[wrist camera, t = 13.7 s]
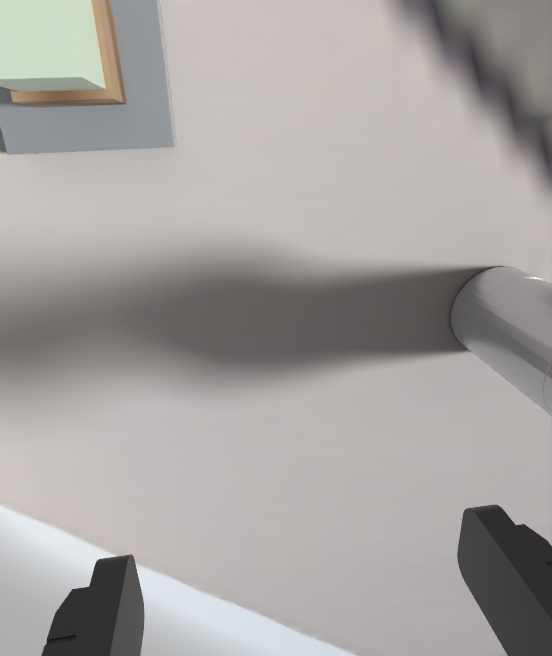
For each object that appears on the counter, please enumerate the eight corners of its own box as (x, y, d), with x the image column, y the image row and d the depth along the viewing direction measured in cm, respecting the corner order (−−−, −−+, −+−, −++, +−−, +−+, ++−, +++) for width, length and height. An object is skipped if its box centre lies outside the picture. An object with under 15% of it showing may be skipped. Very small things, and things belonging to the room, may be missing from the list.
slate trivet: (155, -34, 33) (150, -50, 30) (176, 146, 38) (174, 146, 35) (-22, -33, 32) (-44, -50, 29) (22, 153, 36) (7, 154, 33)
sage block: (90, -8, 27) (59, -47, 21) (105, 89, 28) (81, 76, 23) (-2, -7, 26) (-58, -47, 21) (21, 91, 28) (-25, 79, 22)
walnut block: (111, 5, 31) (95, -18, 26) (126, 104, 33) (113, 98, 29) (18, 7, 30) (-16, -17, 26) (40, 107, 33) (12, 102, 28)
